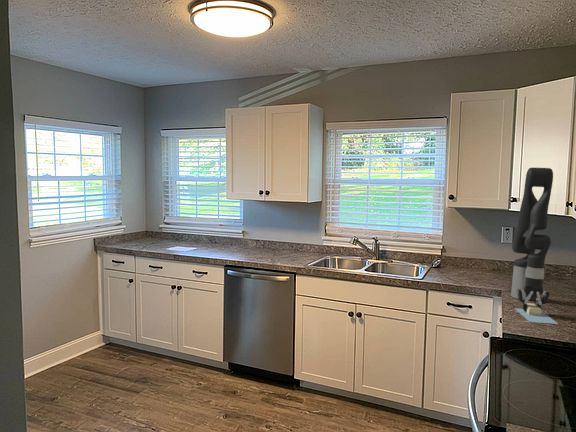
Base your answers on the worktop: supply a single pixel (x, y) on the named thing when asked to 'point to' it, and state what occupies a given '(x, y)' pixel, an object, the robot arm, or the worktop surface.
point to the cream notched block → (533, 309)
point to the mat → (536, 317)
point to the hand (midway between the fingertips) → (531, 311)
